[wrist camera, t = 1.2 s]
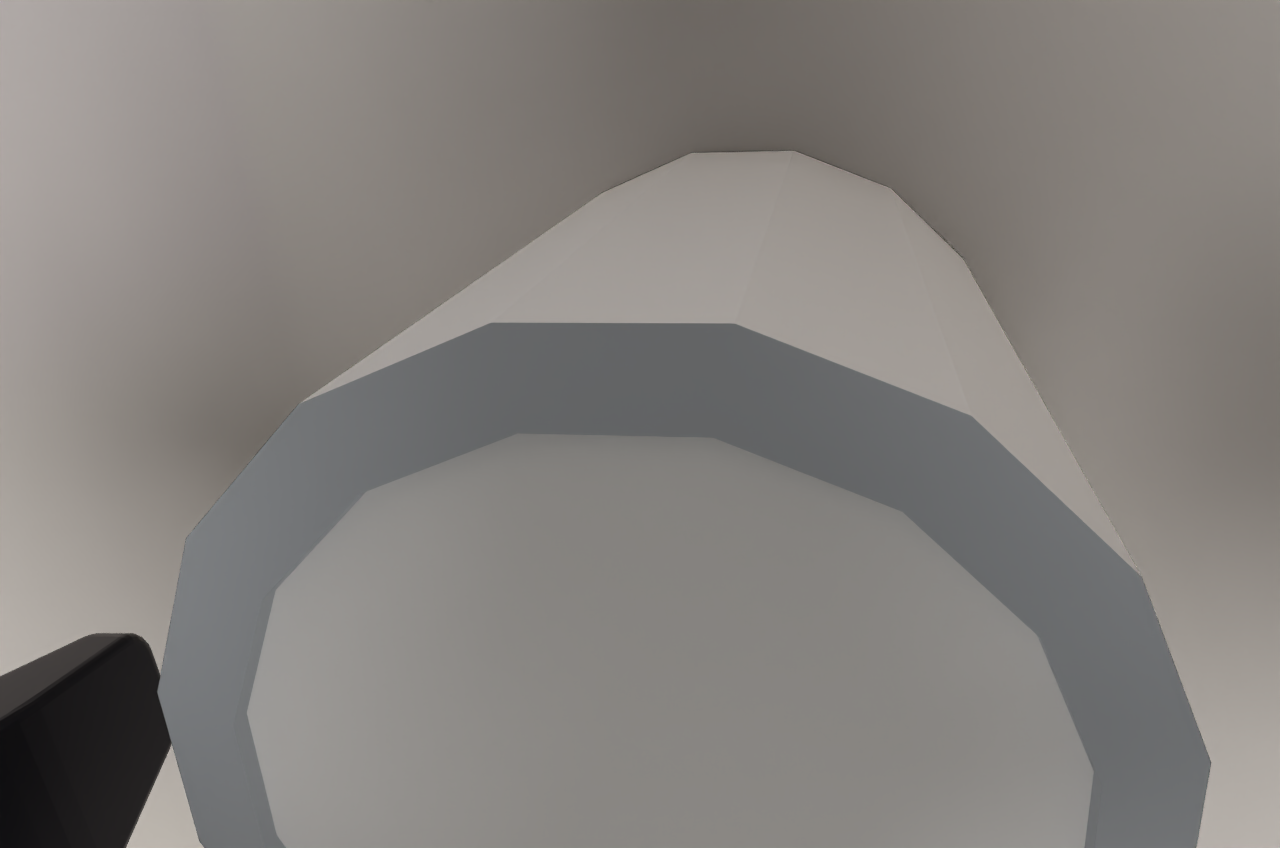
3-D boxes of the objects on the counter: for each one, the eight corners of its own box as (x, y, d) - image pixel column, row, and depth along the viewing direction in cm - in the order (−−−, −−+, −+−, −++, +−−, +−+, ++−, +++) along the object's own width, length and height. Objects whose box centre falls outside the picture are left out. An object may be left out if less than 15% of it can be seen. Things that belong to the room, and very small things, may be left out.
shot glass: (385, 164, 14) (-30, 430, 7) (1013, 15, 12) (1163, 199, 6) (554, 662, 16) (352, 1169, 10) (1090, 601, 14) (1254, 1175, 8)
